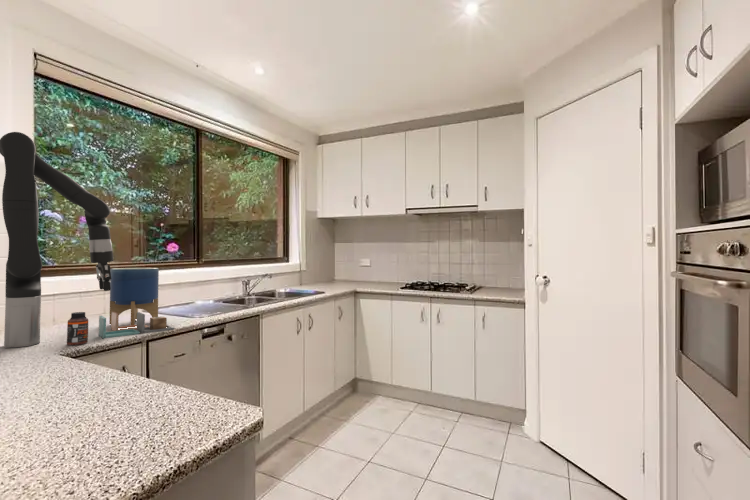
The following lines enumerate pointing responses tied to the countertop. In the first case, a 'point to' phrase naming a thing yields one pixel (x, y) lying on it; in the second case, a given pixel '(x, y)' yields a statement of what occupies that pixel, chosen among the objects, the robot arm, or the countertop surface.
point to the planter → (134, 291)
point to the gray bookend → (143, 329)
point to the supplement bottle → (77, 329)
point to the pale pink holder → (115, 323)
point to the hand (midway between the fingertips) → (105, 289)
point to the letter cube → (158, 323)
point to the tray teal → (113, 333)
